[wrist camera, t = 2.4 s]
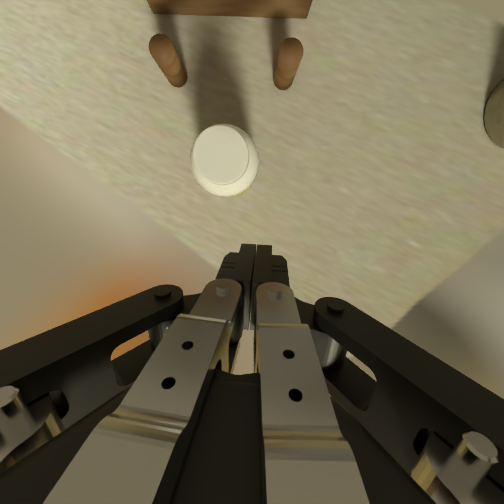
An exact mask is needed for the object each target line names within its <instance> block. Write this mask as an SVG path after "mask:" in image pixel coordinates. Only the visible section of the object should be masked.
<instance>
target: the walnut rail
mask: <svg viewBox="0 0 504 504" xmlns="http://www.w3.org/2000/svg"><path fill="white" fill-rule="evenodd" d="M147 2H148V4H149V6H150V7H151V9H152V11H153V13H154V14H182V15H213V16H245V17H276V18H307V15H308V12H309V9H310V6H311V3H312V0H147Z"/></svg>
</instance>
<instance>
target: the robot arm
mask: <svg viewBox="0 0 504 504" xmlns="http://www.w3.org/2000/svg"><path fill="white" fill-rule="evenodd" d="M484 121H485V128H486V131H487V134H488V135H489V137H490V138H491V140H492V141H493V142H494V143H495V144H497V145H498V146H500V147H502V148H504V80H503V81H502V82H501V83H500V84H499V85H498V86H497V87H496V88H495V90H494V91H493V92H492V94H491V96H490V98H489V100H488V102H487V105H486V109H485V116H484ZM250 313H251V320H250ZM249 321H250V329H251V330H254V343H253V362H254V363H253V372H254V373H252V374H244V375H234V374H233V371H234V367H235V363H236V359H237V355H238V351H239V347H240V338H241V336H242V331H243V329H247V330H248V329H249ZM147 330H148V332H149V338H150V340H148V341H146V342H144V343H142V344H141V345H139V346H137V347H135V348H134V349H132V350H130V351H128V352H126V353H125V354H123V355H121V356H119V357H117V358H115V359H114V360H112V361H111V359H110V358H111V354H112V352H113V351H114V349H115V348H116V347H118V346H119V345H120V344H122V343H124V342H126V341H128V340H130V339H132V338H134V337H136V336H137V335H139V334H141V333H143V332H145V331H147ZM347 351H349V352H350V353H351V354H353V355H354V356H355V357H356V358H358V359H359V360H360V361H361V362H363V363H364V364H365V365H366V366H368V367H369V368H370V369H371V370H372V372H373V373H374V375H375V377H376V379H377V382H376V381H375V380H373V379H372V378H371V377H370V376H369V375H368V374H366V373H365V372H364V371H363V370H361V369H360V368H359V367H358V366H357V365H355V364H354V363H353V362H352V361H350V360H349V359H348V358H347V357H346V353H347ZM329 394H330V395H331V396H332V397H331V396H330V395H329ZM0 504H504V399H502V398H501V397H499V396H498V395H496V394H494V393H493V392H491V391H489V390H488V389H486V388H484V387H483V386H481V385H480V384H478V383H477V382H475V381H473V380H472V379H470V378H469V377H467V376H465V375H464V374H462V373H460V372H459V371H457V370H456V369H454V368H452V367H451V366H449V365H448V364H446V363H444V362H443V361H441V360H440V359H438V358H436V357H435V356H433V355H431V354H430V353H428V352H427V351H425V350H424V349H422V348H420V347H419V346H417V345H416V344H414V343H412V342H411V341H409V340H407V339H406V338H404V337H403V336H401V335H399V334H398V333H396V332H394V331H393V330H391V329H390V328H388V327H387V326H385V325H383V324H382V323H380V322H379V321H377V320H375V319H374V318H372V317H371V316H369V315H367V314H366V313H364V312H362V311H361V310H359V309H358V308H356V307H354V306H353V305H351V304H350V303H348V302H346V301H344V300H342V299H339V298H334V297H324V298H320V299H318V300H317V301H316V303H315V305H312V304H309V303H305V302H303V301H300V300H299V299H297V298H295V297H294V293H293V291H292V289H291V288H290V286H289V277H288V268H287V261H286V259H285V258H284V257H283V256H280V255H272V245H258V244H257V251H256V244H241V248H240V251H239V253H234V252H230V253H229V254H227V255H226V256H225V257H224V259H223V262H222V264H221V268H220V269H219V272H218V274H217V277H216V279H215V280H213V281H211V282H209V283H208V284H207V285H206V286H205V288H204V290H203V291H202V293H199V294H194V295H186V296H183V291H182V289H181V288H180V287H178V286H175V285H159V286H156V287H153V288H151V289H148V290H145V291H143V292H141V293H138V294H136V295H134V296H131V297H129V298H126V299H124V300H121V301H119V302H116V303H114V304H112V305H109V306H107V307H104V308H102V309H100V310H97V311H94V312H92V313H90V314H87V315H85V316H82V317H80V318H78V319H75V320H73V321H70V322H68V323H65V324H63V325H60V326H58V327H56V328H53V329H51V330H48V331H46V332H44V333H41V334H39V335H36V336H34V337H31V338H29V339H26V340H24V341H22V342H19V343H17V344H14V345H12V346H10V347H7V348H5V349H2V350H0Z"/></svg>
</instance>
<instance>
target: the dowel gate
mask: <svg viewBox="0 0 504 504" xmlns="http://www.w3.org/2000/svg"><path fill="white" fill-rule="evenodd" d="M149 51H150V53H151V55H152V57H153V58H154V60H155V61H156V63H157V64H158V66H159V67H160V69H161V70H162V72H163V73H164V75H165V76H166V78H167V79H168V81H169V82H170V83H171V85H173V86H174V87H182V86H183V85H185V83H186V81H187V73H186V70H185V68H184V66H183V64H182V62H181V60H180V58H179V56H178V54H177V52H176V50H175V48H174V46H173V44H172V41H171V40H170V38H169V37H168V36H166V35H164V34H156V35H154V36H153V37H152V38H151V40H150V42H149ZM302 56H303V46H302V44H301V42H300V41H299V40H298V39H296V38H287V39H286V40H284V41H283V42H282V44H281V46H280V50H279V55H278V59H277V64H276V69H275V74H274V84H275V86H276V87H277V88H278V89H280V90H286V89H288V88H289V87H290V86H291V85H292V82H293V80H294V77H295V74H296V72H297V69H298V67H299V64H300V61H301V59H302Z"/></svg>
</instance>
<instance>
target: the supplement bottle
mask: <svg viewBox="0 0 504 504" xmlns="http://www.w3.org/2000/svg"><path fill="white" fill-rule="evenodd" d="M190 164H191V169H192V172H193V175H194V177H195V178H196V180H197V181H198V183H199V184H200V185H201V186H202V187H203V188H204V189H205V190H207V191H208V192H210V193H212V194H215V195H219V196H237V195H240V194H242V193H244V192H245V191H247V190H248V189H249V188H250V186H251V185H252V183H253V181H254V179H255V177H256V174H257V171H258V165H259V158H258V152H257V148H256V146H255V144H254V142H253V140H252V139H251V137H250V136H249V135H248V134H247V133H246V132H245V131H243V130H242V129H240V128H239V127H236V126H234V125H230V124H216V125H213V126H210V127H208V128H207V129H205V130H204V131H203V132H201V133H200V134H199V135H198V137H197V138H196V140H195V141H194V143H193V146H192V149H191V154H190Z"/></svg>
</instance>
